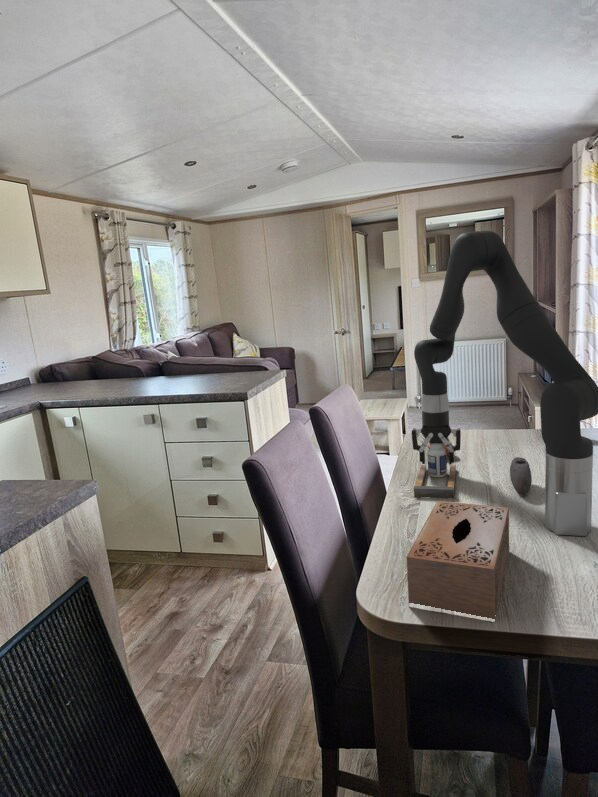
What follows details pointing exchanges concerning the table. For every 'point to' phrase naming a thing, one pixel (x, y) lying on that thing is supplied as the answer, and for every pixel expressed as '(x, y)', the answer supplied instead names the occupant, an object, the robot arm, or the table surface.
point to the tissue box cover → (460, 558)
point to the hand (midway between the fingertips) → (437, 463)
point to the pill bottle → (437, 460)
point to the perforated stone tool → (520, 475)
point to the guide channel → (434, 490)
